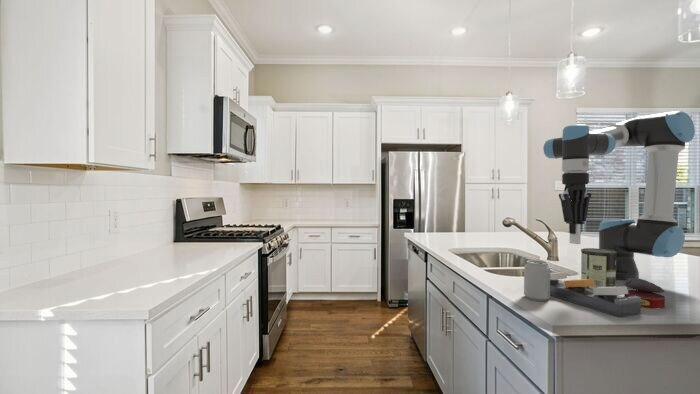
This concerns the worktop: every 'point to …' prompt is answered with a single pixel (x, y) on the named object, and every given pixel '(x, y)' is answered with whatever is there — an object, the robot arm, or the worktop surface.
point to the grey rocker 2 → (610, 290)
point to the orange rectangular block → (579, 283)
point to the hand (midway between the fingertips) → (575, 243)
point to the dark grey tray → (596, 299)
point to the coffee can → (599, 266)
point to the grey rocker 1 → (558, 275)
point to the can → (537, 280)
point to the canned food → (645, 292)
